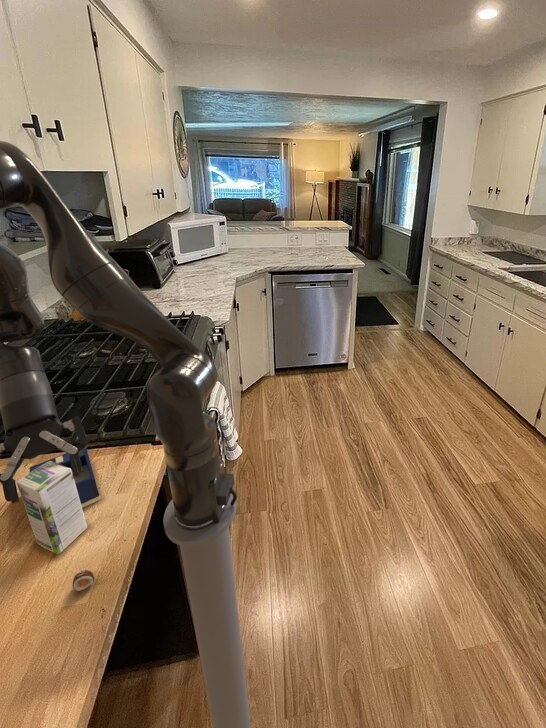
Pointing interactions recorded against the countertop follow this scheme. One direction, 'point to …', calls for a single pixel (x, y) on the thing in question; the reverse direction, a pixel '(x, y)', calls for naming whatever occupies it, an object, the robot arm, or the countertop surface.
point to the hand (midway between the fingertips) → (47, 489)
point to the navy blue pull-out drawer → (80, 477)
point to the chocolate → (82, 580)
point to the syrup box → (52, 506)
